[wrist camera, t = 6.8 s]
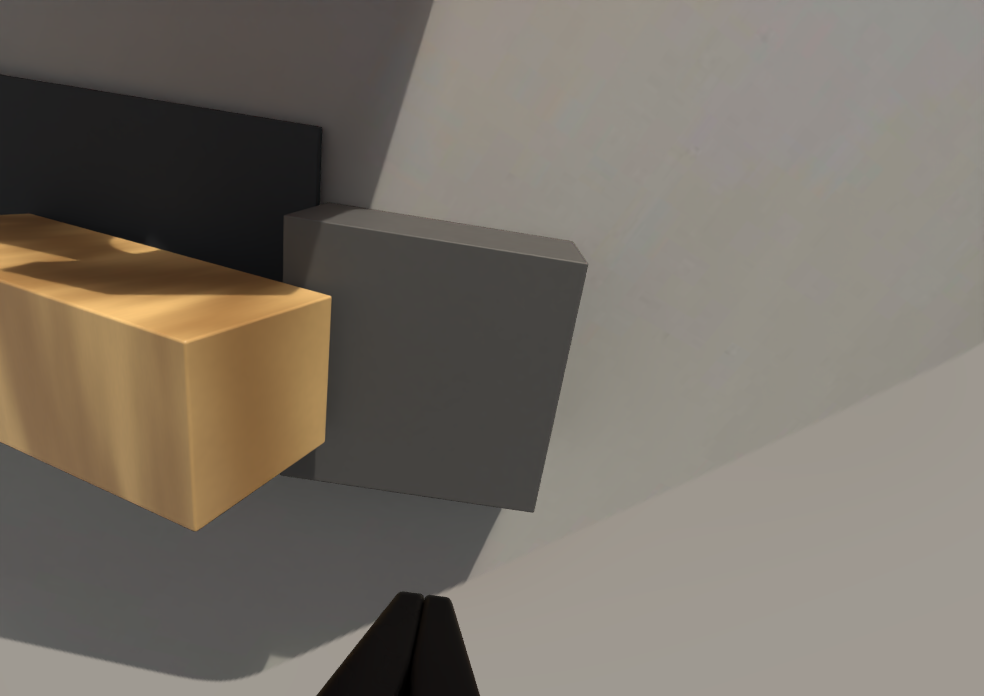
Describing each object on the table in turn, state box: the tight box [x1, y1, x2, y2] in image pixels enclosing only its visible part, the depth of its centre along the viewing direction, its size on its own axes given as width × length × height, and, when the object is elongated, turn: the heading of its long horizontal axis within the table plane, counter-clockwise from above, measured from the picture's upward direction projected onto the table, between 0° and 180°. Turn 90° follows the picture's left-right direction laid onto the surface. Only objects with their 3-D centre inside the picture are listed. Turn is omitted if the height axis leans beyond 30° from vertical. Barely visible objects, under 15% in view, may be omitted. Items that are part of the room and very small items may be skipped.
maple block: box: [0, 214, 332, 532], centre depth 16 cm, size 5×5×13 cm
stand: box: [280, 203, 588, 512], centre depth 19 cm, size 9×9×4 cm
